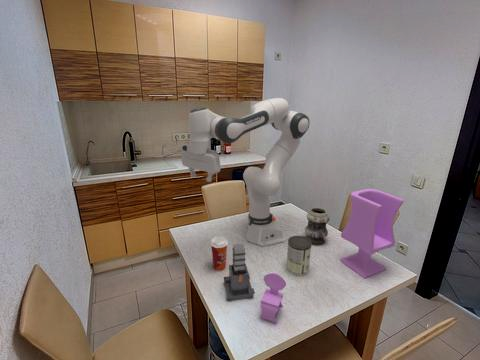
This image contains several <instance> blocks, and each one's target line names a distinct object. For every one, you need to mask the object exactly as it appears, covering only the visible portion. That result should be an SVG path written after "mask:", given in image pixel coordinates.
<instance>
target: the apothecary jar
mask: <svg viewBox="0 0 480 360" xmlns="http://www.w3.org/2000/svg"><path fill="white" fill-rule="evenodd" d="M305 217H306V219H307V225H306V226H305V228H304V233H305V234H306V236H305V237H306V238H308V239H309V240H310V241H311V242H312V245H314V246H321V245H324V244H325V243H326V242H325V239H324V238H326V237H327V236H328V235H329V231H328V229H327V223H328V222H329V221H330V215H329V214H328V211H327V210H326V209H325V208H323V207H319V206H318V207H316V206H315V207H311V208H310V210H309V211H308V212H307V213H306V216H305Z"/></svg>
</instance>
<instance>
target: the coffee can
mask: <svg viewBox="0 0 480 360" xmlns="http://www.w3.org/2000/svg"><path fill="white" fill-rule="evenodd" d="M306 237H307V236H302V235H293V236H290V237H289V238H288V239H287V253H286V265H285V266H286V268H285V269H286V270H287V271H288V272H289V273H290V274H292V275H294V276H299V277H300V276H301V277H302V276H305V275H307V274H308V273H309V271H310V261H311V251H312V245H313V244H312V242H311V241H310V240H309V239H308V238H306Z"/></svg>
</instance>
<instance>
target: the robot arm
mask: <svg viewBox="0 0 480 360" xmlns="http://www.w3.org/2000/svg"><path fill="white" fill-rule="evenodd" d="M268 125H271V127H273V128H274V129H275V130H276V131H280V132H281V135H280V137H279V138H278V139H277V141H276V142H275V143H274V144H273V146H272V147H271V149H270V150H269V151H268V152H267V154H266V155H265V163H264V167H263V168H260V167H258V166H248V167H247V168H245V170H244V172H243V174H242V178H243V180H244V182H245V186H246V190H247V196H248V201H249V203H248V204H249V205H248V206H249V207H248V211H249V213H248V215H247V223H248V227H247V230H246V234H245V238H246V240H247V241H248V242H249V243H251V244H255V245H257V246H260V247H266V246H272V245H275V244H281V243H285V242H287V240H288V239H287V234H286V233H285V232H284V230H283V228H282V226H281V225H280V224H279V222H277V221H276V220H277V218H276V217H275V216H274V215H273V213H271V199H270V197H272V196H275V195H277V194H278V192H279V190H280V188H281V180H280V179H281V175H282V172H283V170H284V168H285V167H286V165H287V164H288V162H289V161H290V160H291V158H292V157H293V156H294V154H295V153H296V151H297V149H298V147H299V146H300V143H301V138H303V136H304V135H305V134H306V133H307V131H309V130H308V129H309V128H310V118H309V116H308V115H306V113H302V112H298V111H295V110H290V105H289V103H288V101H287V100H286V99H285V98H282V97H272V98H268V99H264V100H261V101H257V103H255V104H253V105H252V107H251V109H250V114H247V115H245V116H243V117H242V116H241V118H236V117H232V116H231V117H230V116H228V117H227V116H222V115H219V114H216V113H214V112H213V111H211V110H210V109H209V108H208V107H197V108H194V109H191V110H190V112H189V114H188V133H189V138H188V143H187V144H182V145H181V146H180V150H181V164H182V166H184V167H187V168H188V171H189V173H190V178H196V177H197V173H196V172H195V171H194V170H195V169H196V170H199V171H201V172H202V171H203V172H206V173H207V177H206V178H205V181H206V182H208V183H210V182H212V178H213V176H214V174H218V173H220V172H221V159H220V154H219V152H218V151H217V150H213V149H212V147H211V145H212V144H211V139H212V138H213V139H217V140H219V141H221V142H223V143H225V144H233V143H235V142H236V141H238V140H239V139H240V138H241V137H242V136H244V135H245V134H247V133H249V132H252V131H254V130H257V129H259V128H261V127H264V126H268ZM269 196H270V197H269Z"/></svg>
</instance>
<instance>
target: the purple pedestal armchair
mask: <svg viewBox="0 0 480 360" xmlns="http://www.w3.org/2000/svg"><path fill="white" fill-rule="evenodd" d="M350 199H351V209H350V215H349V217H348V218H349V219H348V221H347V223H346V225H345V227H344V228H343V230H342V231H341V233H340V237H341V238H342V239H343V240H345V241H347V242H349V243H352V244H353V245H355V246H356V247H358V251H357V252H356V253H353V254H350V255H347V256H345V257H342V258H341V257H340V260H339V261H340V262H341V263H343V264H344V265H345V266H347V267H348V268H349V269H351V270H352V271H353V272H355V273H356V274H358V275H359V276H360V277H361V278H363V279H367V278H369V277H371V276H373V275H377V274H378V273H381V272H384V271H386V267H385V266H384V265H382V264H381V263H379V262H378V261H376V260H374V259H372V258H371V256H372V255H373V254H376V253H378V252H379V251H382V250H386V249H391V248H393V247H395V245H396V239H395V234H394V221H395V219H396V215H397V214H398V211H399V210H400V208H401V207H402V205H403V204H404V202H405V199H404V198H402V197H401V198H400V197H399V196H395V195H393V194H390V193H387V192H384V191H382V190H379V189H375V188H366V189H360V190H356V191H351V192H350Z"/></svg>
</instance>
